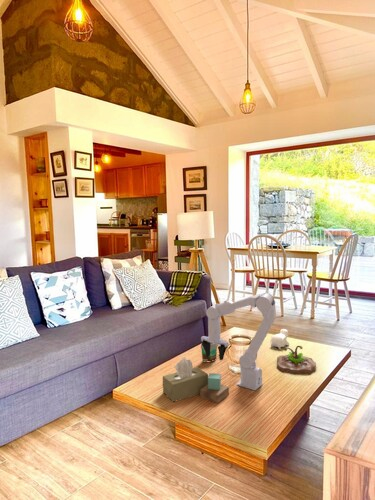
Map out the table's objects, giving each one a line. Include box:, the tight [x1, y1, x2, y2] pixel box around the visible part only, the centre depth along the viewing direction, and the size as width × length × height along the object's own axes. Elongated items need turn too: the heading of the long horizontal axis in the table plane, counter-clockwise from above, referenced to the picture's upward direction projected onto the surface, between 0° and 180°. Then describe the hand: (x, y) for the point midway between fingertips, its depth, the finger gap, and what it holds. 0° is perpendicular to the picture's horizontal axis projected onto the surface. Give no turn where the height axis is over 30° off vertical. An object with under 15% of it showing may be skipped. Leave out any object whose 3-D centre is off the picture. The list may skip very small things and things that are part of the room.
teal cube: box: [208, 372, 222, 390], centre depth 158 cm, size 5×5×5 cm
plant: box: [276, 345, 317, 375], centre depth 186 cm, size 20×20×11 cm
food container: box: [200, 343, 219, 362], centre depth 197 cm, size 12×6×10 cm, turn 143°
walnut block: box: [199, 384, 230, 404], centre depth 157 cm, size 9×9×4 cm
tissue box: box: [162, 357, 209, 402], centre depth 161 cm, size 19×10×16 cm, turn 121°
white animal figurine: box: [270, 328, 290, 350], centre depth 217 cm, size 9×8×15 cm
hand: (214, 357), depth 173 cm, fingers open, 7 cm apart
